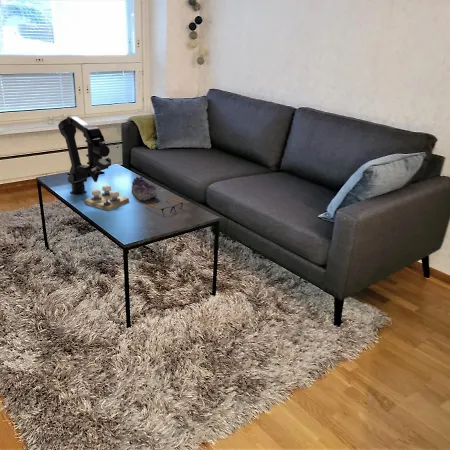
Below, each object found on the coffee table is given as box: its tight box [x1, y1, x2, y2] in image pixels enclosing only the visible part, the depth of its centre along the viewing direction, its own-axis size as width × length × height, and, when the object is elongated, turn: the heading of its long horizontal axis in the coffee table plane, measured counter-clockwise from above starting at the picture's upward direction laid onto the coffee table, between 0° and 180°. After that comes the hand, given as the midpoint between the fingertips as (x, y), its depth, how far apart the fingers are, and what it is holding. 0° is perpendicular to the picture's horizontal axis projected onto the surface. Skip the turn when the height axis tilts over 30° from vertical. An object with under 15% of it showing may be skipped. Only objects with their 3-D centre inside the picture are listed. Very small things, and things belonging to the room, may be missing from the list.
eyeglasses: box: [145, 197, 184, 214], centre depth 239 cm, size 14×14×4 cm
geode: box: [131, 176, 158, 202], centre depth 253 cm, size 20×12×10 cm, turn 35°
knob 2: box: [101, 184, 112, 194], centre depth 246 cm, size 5×5×4 cm
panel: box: [84, 191, 130, 211], centre depth 241 cm, size 16×16×2 cm
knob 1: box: [91, 188, 102, 199], centre depth 239 cm, size 5×5×4 cm
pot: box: [104, 197, 111, 206], centre depth 233 cm, size 2×2×4 cm
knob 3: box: [109, 190, 120, 200], centre depth 239 cm, size 5×5×4 cm
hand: (95, 181), depth 237 cm, fingers closed
